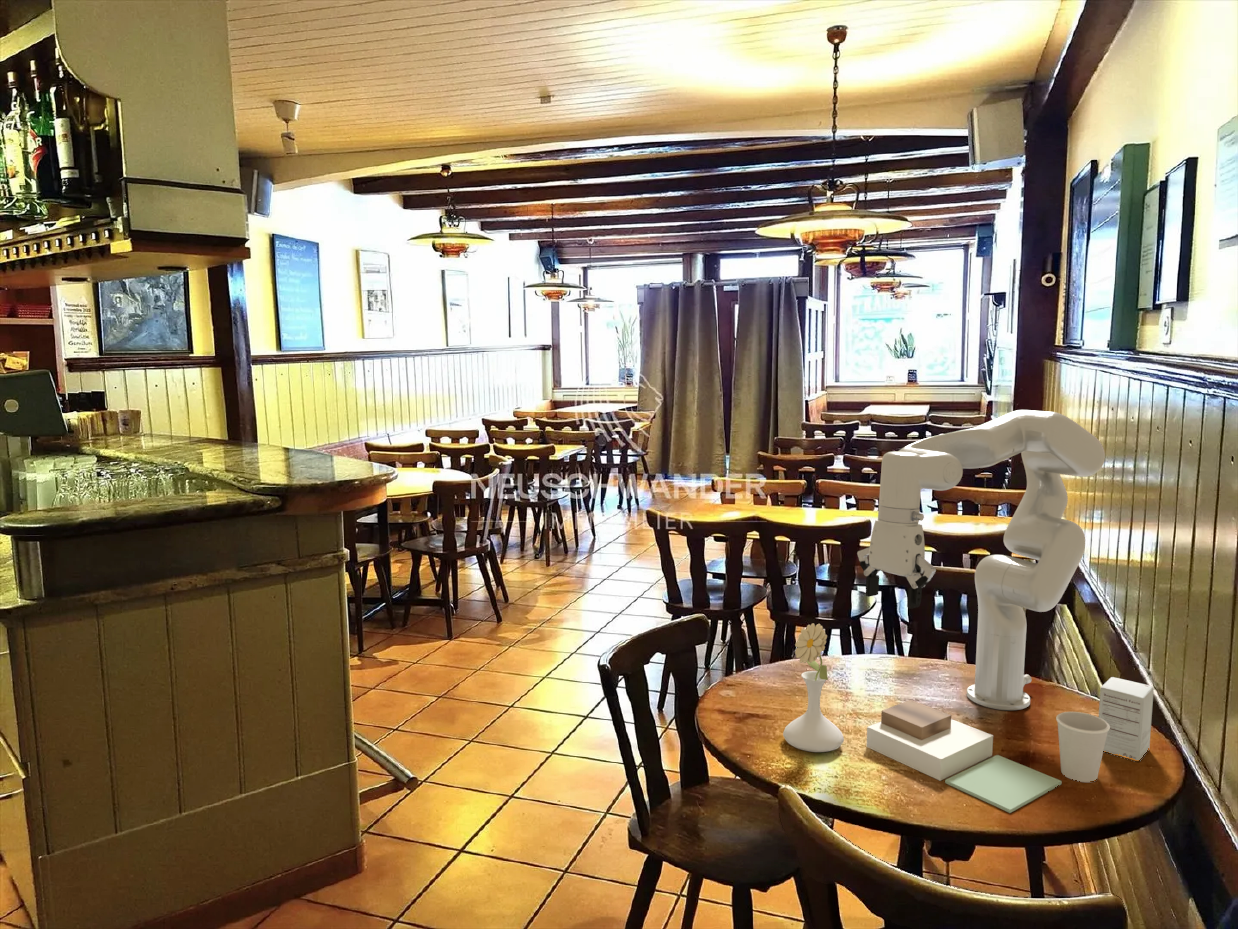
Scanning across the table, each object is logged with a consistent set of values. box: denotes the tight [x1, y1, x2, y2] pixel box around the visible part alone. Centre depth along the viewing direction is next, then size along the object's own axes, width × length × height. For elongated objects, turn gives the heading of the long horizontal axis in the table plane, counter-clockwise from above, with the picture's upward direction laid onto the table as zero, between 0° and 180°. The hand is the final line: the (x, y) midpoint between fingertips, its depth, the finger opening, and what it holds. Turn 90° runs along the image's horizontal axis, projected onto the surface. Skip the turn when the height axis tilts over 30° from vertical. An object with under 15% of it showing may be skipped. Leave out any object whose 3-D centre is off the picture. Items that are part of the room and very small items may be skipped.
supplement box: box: [1098, 676, 1155, 761], centre depth 159 cm, size 7×7×13 cm
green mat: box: [944, 754, 1062, 814], centre depth 148 cm, size 16×12×1 cm
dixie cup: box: [1055, 711, 1110, 783], centre depth 150 cm, size 8×8×10 cm
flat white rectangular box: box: [866, 718, 994, 782], centre depth 160 cm, size 16×16×4 cm
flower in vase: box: [782, 623, 845, 753], centre depth 161 cm, size 13×11×25 cm
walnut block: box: [880, 699, 952, 740], centre depth 162 cm, size 9×9×2 cm
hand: (892, 601), depth 167 cm, fingers open, 9 cm apart
